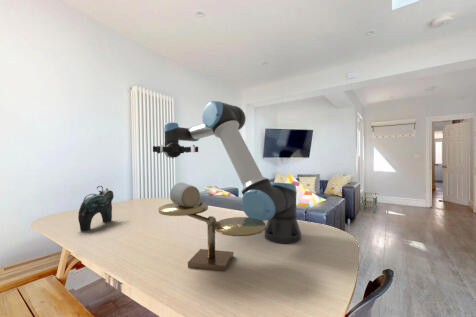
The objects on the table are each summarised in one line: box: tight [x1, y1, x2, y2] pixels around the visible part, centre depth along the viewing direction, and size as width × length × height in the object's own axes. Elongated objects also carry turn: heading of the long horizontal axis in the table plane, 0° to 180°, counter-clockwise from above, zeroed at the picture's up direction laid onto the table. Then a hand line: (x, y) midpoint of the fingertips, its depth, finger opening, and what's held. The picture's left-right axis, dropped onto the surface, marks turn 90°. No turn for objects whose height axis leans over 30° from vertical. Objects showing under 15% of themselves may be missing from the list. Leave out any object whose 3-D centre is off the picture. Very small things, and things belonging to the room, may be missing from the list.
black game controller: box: [77, 185, 115, 232], centre depth 112 cm, size 20×6×20 cm, turn 172°
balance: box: [158, 202, 267, 272], centre depth 71 cm, size 35×16×18 cm, turn 77°
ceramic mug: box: [169, 182, 205, 207], centre depth 75 cm, size 11×8×8 cm
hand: (178, 148), depth 93 cm, fingers open, 13 cm apart
